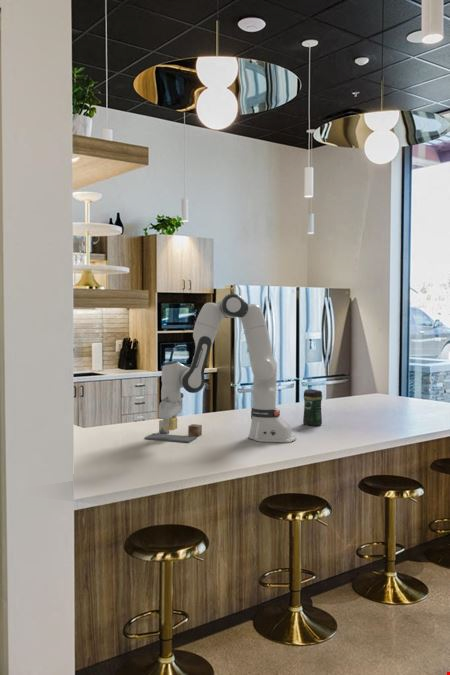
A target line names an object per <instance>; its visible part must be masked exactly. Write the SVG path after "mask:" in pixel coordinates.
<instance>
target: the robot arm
mask: <svg viewBox="0 0 450 675" xmlns="http://www.w3.org/2000/svg"><path fill="white" fill-rule="evenodd" d="M233 318H235V319H236V318H238V319H239V320H240V322H241V324H242V329H243V334H244V338H245V341H246V345H247V351H248V358H249V363H250V366H251V367H250V368H251V372H252V375H253V381H252V397H251V398H252V400H251V401H252V404H251V411H250V417H251V418H250V419H251V422H250V429H249V434H248V439H250V440H254V441H256V442H262V443H264V442H266V443H292V441H293V442H294V440H295V441H296V440H297V436H296V435H295V434H293V433H292V427H291V425H290V423H288V422H287V421H286V420H285V419H283V418H282V417H281V416H280V414H281V413H280V412H281V409H278V408H277V404H276V403H277V377H278V375H277V373H278V364H277V361H276V359H275V357H274V354H273V349H272V342H271V339H270V334H269V329H268V325H267V321H266V318H265V315H264V313H263V311H262V309H261V307H260V305H258V304H255V303H248V302H247V301H246V300H245V299H244V298H243V297H242V296H241V295H239V294H237V293H229V294H227V295H224V296H223V297H222V298H221V300H220V301H219V302H218V303H215V302H206V303H204V305H203V306H202V307H201V309H200V311H199V313H198V315H197V317H196V321H195V324H194V326H193V327H194V328H193V332H192V338H193V340H194V341H193V342H194V346H195V350H194V355H193V358H192V362H191V365H190V367H189V366H186V365H185V364H182V363H181V362H179V361H177V360H171V361H167V362H165V363H164V364H163V365H162V369H161V378H160V379H161V390H160V400H161V402H160V403H159V406H158V419H160V420H163V419H164V421H165V427H169V426H170V423H169V418H170V417H173V418H178V417H177V416H178V415H179V414H181V413H182V411H183V405H184V404H183V403H184V402H183V401H184V392H181V388H183V389H184V390H185V391H186V392H188V393H191V394H195V393H199V392H200V391H202V390H203V388H204V386H205V382H206V381H205V369H206V366H207V363H208V362H207V361H208V358H209V355H210V352H211V349H212V346H213V344H214V341H215V339H216V336H217V334H218V332H219V327H220V325H221V323H222V321H223V319H233Z"/></svg>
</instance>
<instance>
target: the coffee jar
mask: <svg viewBox="0 0 450 675" xmlns="http://www.w3.org/2000/svg"><path fill="white" fill-rule="evenodd" d="M303 400H304V406H303V416H302V417H303V419H302V421H303V422H302V423H303V424H304V425H306V424H307V425H306V426H311V425H313V427H314V426H316V425H319V426H321V425H322V424H323V419H322V418H323V415H322V400H323V391H322V390H318V389H305V390H304V391H303Z"/></svg>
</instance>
